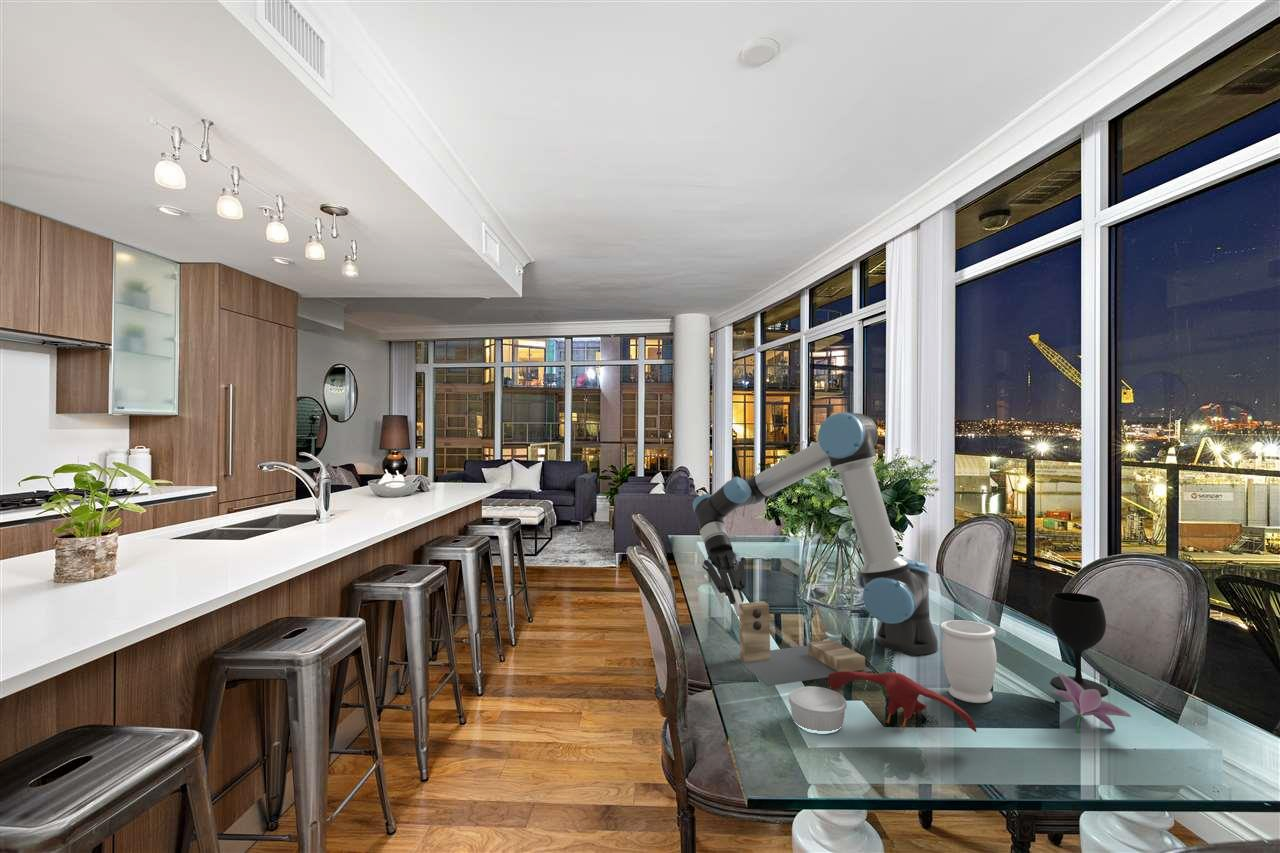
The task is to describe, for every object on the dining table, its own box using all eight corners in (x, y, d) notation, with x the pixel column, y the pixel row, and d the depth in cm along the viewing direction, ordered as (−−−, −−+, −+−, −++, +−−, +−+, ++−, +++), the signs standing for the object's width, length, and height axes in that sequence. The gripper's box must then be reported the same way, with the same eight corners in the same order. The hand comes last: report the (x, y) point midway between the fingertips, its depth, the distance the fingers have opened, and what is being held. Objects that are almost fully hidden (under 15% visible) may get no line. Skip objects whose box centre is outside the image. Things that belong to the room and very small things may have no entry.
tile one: (808, 642, 154) (839, 660, 141) (832, 639, 156) (864, 656, 143) (808, 655, 154) (840, 674, 141) (832, 652, 156) (865, 670, 142)
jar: (977, 710, 123) (975, 637, 123) (933, 692, 132) (930, 624, 132) (1008, 699, 127) (1006, 629, 128) (963, 682, 137) (961, 616, 137)
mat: (826, 645, 162) (826, 643, 162) (873, 673, 143) (873, 670, 143) (732, 657, 155) (732, 655, 155) (767, 688, 136) (767, 685, 136)
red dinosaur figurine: (838, 720, 129) (813, 683, 122) (851, 681, 134) (828, 644, 127) (983, 769, 109) (963, 729, 102) (992, 721, 114) (974, 680, 107)
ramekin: (839, 744, 111) (838, 715, 111) (781, 729, 117) (780, 702, 117) (852, 719, 120) (852, 692, 121) (798, 707, 126) (797, 682, 126)
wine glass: (1097, 680, 136) (1094, 593, 136) (1117, 699, 126) (1113, 605, 126) (1044, 675, 139) (1041, 590, 139) (1059, 694, 129) (1056, 602, 130)
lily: (1139, 754, 107) (1144, 699, 110) (1075, 727, 108) (1082, 674, 111) (1088, 742, 118) (1093, 693, 121) (1030, 718, 119) (1037, 670, 122)
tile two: (740, 658, 153) (738, 603, 153) (765, 655, 154) (763, 601, 155) (745, 663, 149) (744, 607, 150) (771, 659, 151) (769, 604, 151)
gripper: (733, 546, 180) (759, 618, 163) (692, 549, 176) (714, 623, 160) (740, 532, 175) (767, 604, 158) (698, 534, 171) (722, 608, 155)
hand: (741, 613), depth 159 cm, fingers closed
